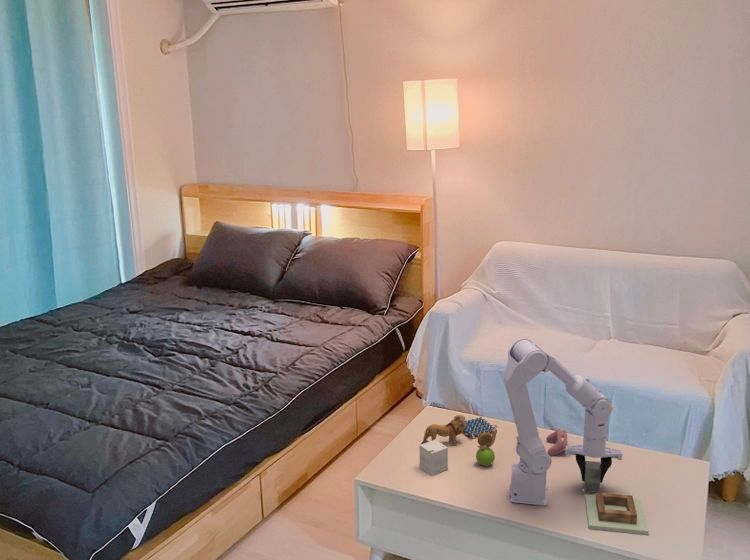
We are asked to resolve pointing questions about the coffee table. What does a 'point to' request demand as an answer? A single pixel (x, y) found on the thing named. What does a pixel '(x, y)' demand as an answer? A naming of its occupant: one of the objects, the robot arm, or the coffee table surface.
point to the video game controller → (557, 441)
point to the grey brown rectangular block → (592, 476)
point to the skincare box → (433, 457)
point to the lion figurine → (446, 429)
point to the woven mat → (476, 428)
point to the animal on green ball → (486, 448)
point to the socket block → (615, 513)
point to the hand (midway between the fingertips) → (591, 480)
